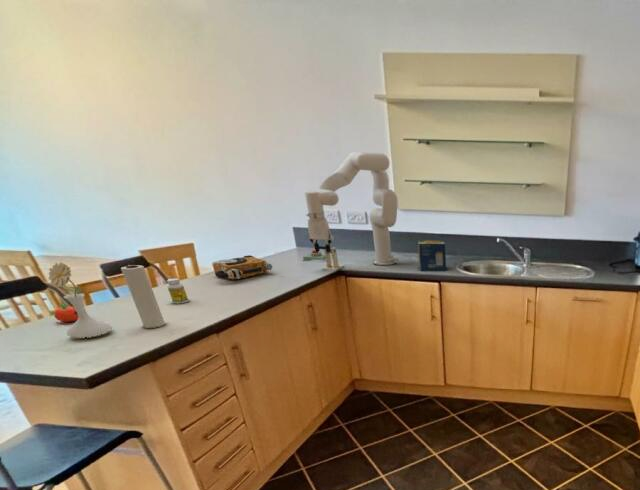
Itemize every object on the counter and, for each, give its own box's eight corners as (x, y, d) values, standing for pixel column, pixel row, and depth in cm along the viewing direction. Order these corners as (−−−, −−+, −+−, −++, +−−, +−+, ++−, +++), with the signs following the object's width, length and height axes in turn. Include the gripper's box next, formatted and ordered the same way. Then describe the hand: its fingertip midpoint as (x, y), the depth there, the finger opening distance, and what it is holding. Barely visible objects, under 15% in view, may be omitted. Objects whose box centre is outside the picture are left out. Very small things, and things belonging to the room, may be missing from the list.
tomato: (82, 316, 158) (74, 299, 155) (86, 321, 153) (78, 304, 150) (56, 320, 153) (47, 303, 150) (59, 325, 148) (50, 308, 145)
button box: (329, 258, 265) (328, 251, 264) (322, 261, 257) (321, 254, 255) (310, 257, 265) (309, 250, 264) (303, 260, 257) (302, 253, 255)
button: (319, 252, 261) (319, 250, 260) (317, 254, 258) (316, 251, 257) (314, 252, 261) (313, 249, 260) (311, 253, 258) (311, 250, 257)
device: (278, 258, 221) (221, 268, 197) (282, 274, 225) (226, 285, 201) (252, 253, 230) (194, 262, 207) (256, 268, 234) (199, 278, 210)
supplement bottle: (189, 299, 180) (182, 277, 176) (187, 303, 176) (179, 280, 171) (174, 300, 178) (166, 278, 174) (171, 304, 174) (163, 281, 169)
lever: (326, 250, 225) (326, 245, 224) (317, 249, 225) (316, 245, 224) (335, 253, 237) (335, 249, 236) (327, 253, 237) (326, 249, 236)
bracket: (336, 271, 235) (333, 249, 230) (322, 270, 235) (318, 249, 230) (343, 267, 244) (340, 246, 239) (329, 266, 244) (326, 246, 239)
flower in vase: (64, 336, 140) (26, 260, 129) (107, 327, 149) (76, 255, 137) (77, 345, 134) (38, 267, 123) (121, 335, 143) (89, 261, 131)
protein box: (419, 267, 251) (417, 240, 244) (444, 266, 255) (443, 240, 248) (420, 271, 242) (418, 243, 235) (446, 270, 246) (445, 243, 239)
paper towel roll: (161, 327, 150) (138, 268, 140) (141, 329, 148) (116, 268, 138) (169, 321, 156) (148, 263, 146) (150, 322, 154) (127, 264, 144)
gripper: (297, 216, 215) (304, 252, 223) (330, 217, 215) (336, 253, 223) (304, 214, 221) (310, 250, 230) (335, 216, 221) (341, 251, 230)
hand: (323, 251), depth 226 cm, fingers closed on lever, 5 cm apart
